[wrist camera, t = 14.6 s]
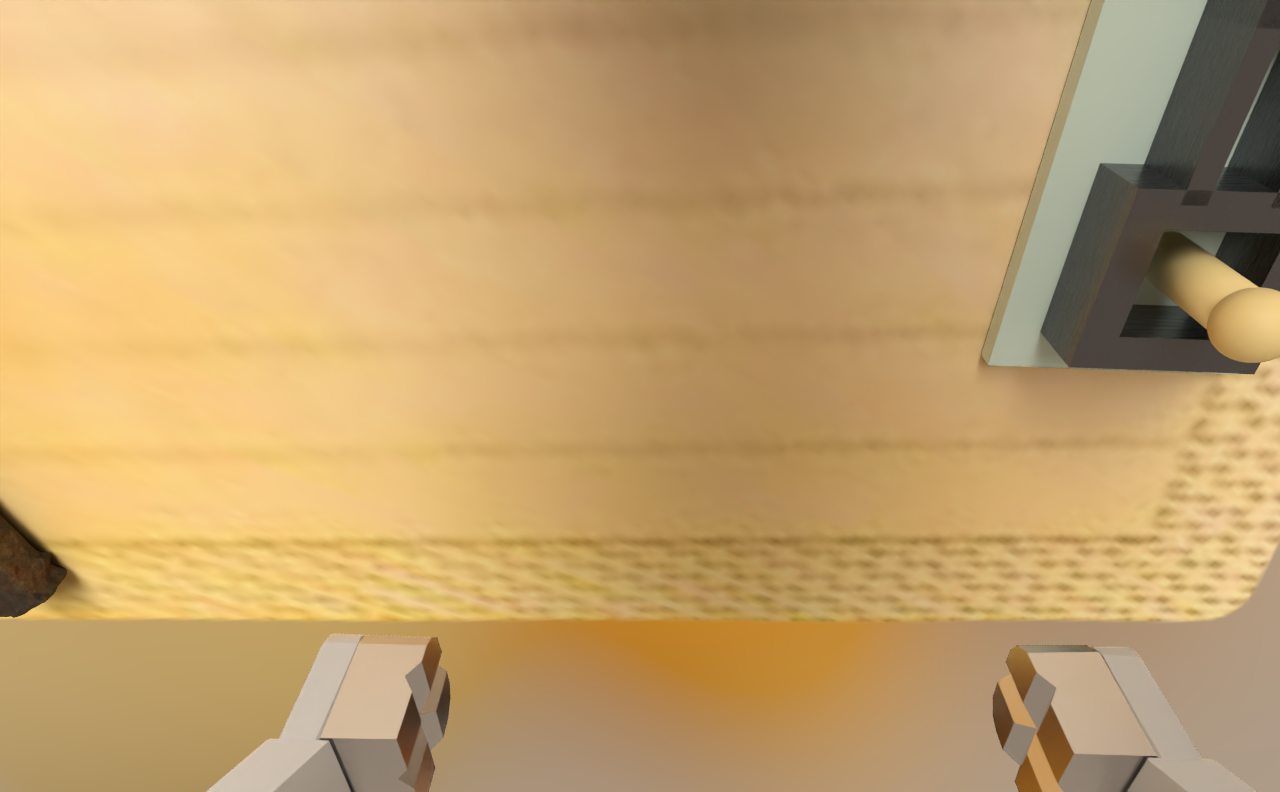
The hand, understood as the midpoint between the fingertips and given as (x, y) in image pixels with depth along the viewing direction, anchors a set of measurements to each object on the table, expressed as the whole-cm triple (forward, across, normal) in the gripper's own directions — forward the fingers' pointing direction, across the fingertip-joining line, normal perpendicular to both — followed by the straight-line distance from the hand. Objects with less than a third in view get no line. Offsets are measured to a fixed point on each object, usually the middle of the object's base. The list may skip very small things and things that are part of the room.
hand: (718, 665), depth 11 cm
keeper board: (+26, -21, -1) cm, 34 cm away
